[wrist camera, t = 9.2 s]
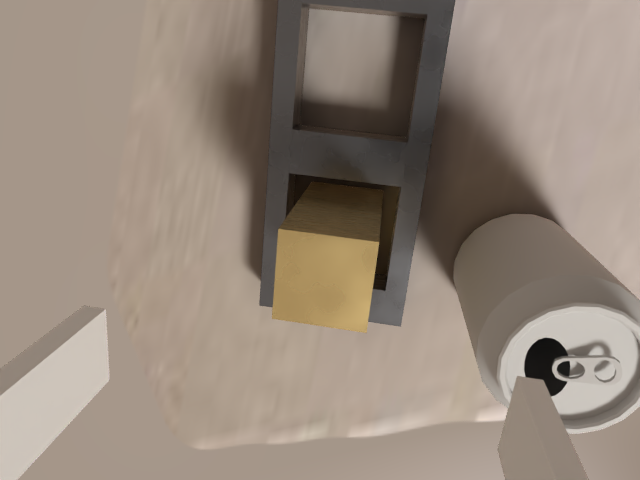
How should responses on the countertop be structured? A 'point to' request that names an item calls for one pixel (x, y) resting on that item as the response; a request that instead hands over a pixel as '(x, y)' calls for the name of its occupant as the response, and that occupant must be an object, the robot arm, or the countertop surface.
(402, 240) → the rack
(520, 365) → the can
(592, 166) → the countertop surface
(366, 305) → the brass block
